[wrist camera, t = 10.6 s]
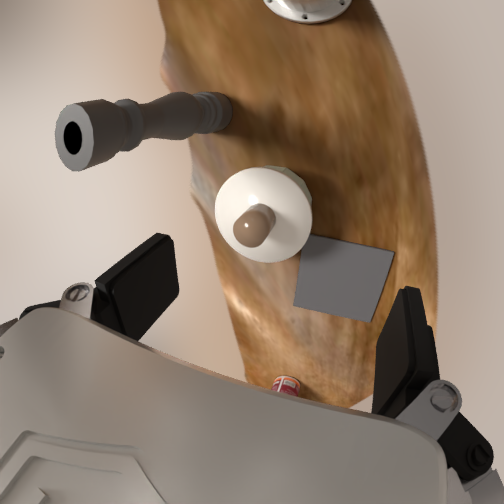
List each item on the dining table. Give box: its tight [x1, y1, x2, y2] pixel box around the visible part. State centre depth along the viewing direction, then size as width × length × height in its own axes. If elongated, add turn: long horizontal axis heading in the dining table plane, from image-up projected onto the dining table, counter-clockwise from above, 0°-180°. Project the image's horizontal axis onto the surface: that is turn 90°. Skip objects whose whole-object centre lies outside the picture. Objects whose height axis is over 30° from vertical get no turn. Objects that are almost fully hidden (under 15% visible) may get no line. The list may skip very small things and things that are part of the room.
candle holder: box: [55, 92, 233, 171], centre depth 28 cm, size 6×6×25 cm
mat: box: [293, 234, 394, 322], centre depth 44 cm, size 14×14×1 cm
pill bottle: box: [271, 376, 300, 397], centre depth 57 cm, size 6×6×11 cm
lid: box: [215, 167, 312, 262], centre depth 35 cm, size 13×13×5 cm
